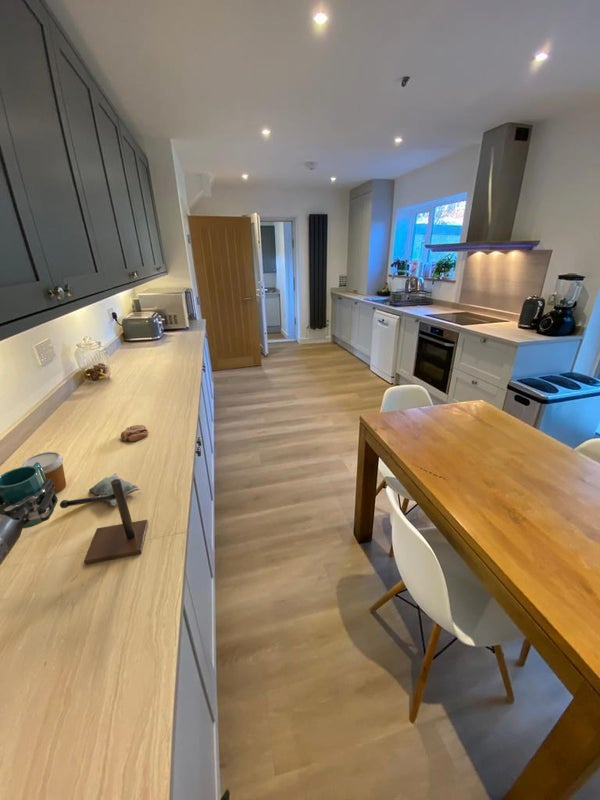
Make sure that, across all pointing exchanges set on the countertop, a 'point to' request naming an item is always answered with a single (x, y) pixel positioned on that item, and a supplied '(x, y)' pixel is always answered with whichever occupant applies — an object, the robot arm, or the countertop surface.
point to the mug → (22, 486)
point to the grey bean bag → (106, 488)
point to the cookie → (134, 433)
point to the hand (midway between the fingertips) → (29, 485)
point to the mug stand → (114, 530)
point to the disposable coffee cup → (50, 468)
